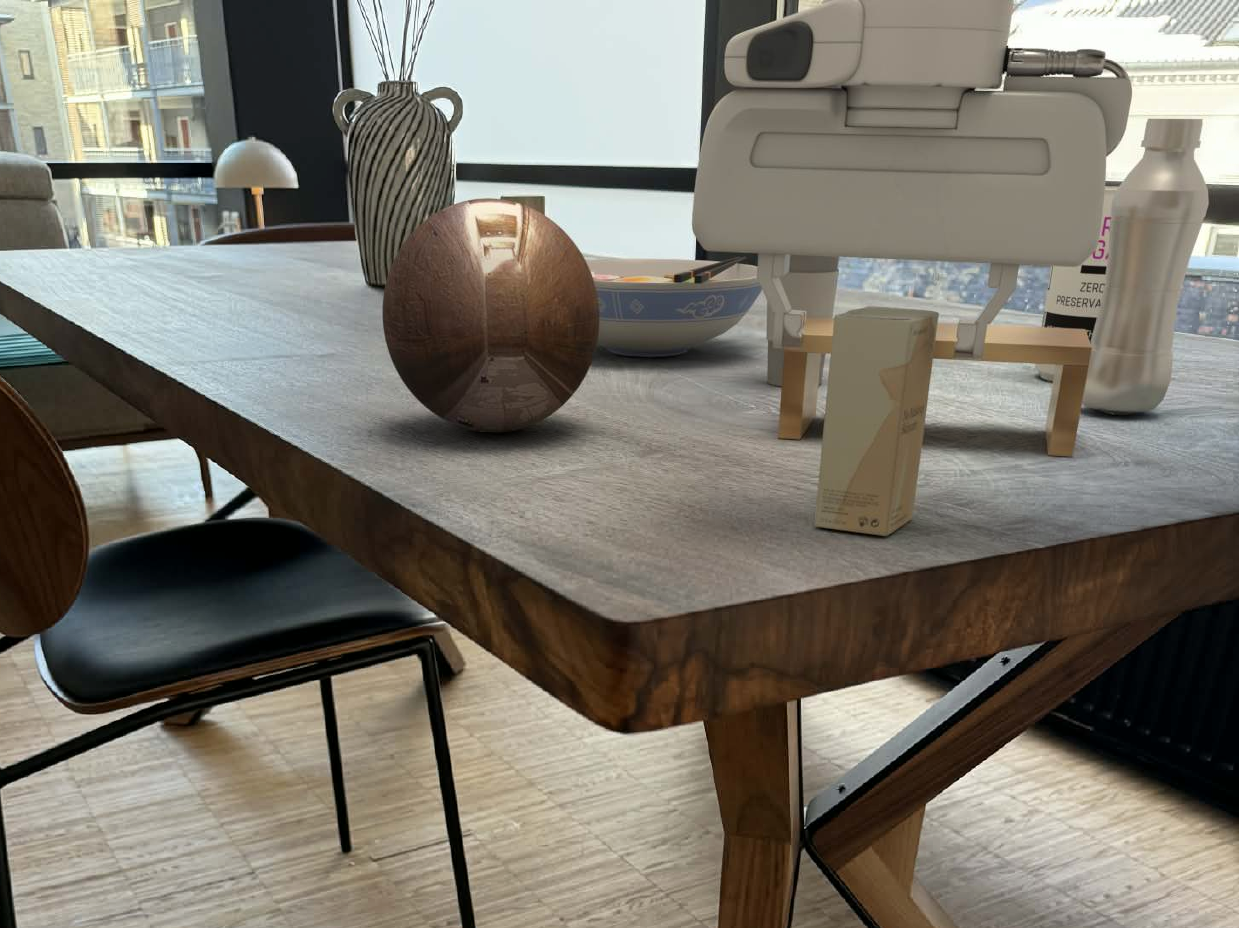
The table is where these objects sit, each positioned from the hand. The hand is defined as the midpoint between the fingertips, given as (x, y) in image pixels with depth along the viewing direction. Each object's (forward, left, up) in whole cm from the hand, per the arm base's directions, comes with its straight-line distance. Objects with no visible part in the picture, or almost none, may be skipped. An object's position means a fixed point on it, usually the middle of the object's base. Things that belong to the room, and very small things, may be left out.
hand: (876, 352), depth 71 cm
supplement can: (-14, -55, -9) cm, 57 cm away
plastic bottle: (-16, -39, -9) cm, 43 cm away
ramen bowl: (+26, -58, -9) cm, 64 cm away
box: (0, 0, -9) cm, 9 cm away
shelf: (-2, -26, -9) cm, 28 cm away
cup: (+10, -45, -9) cm, 47 cm away
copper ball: (+28, -18, -9) cm, 34 cm away
